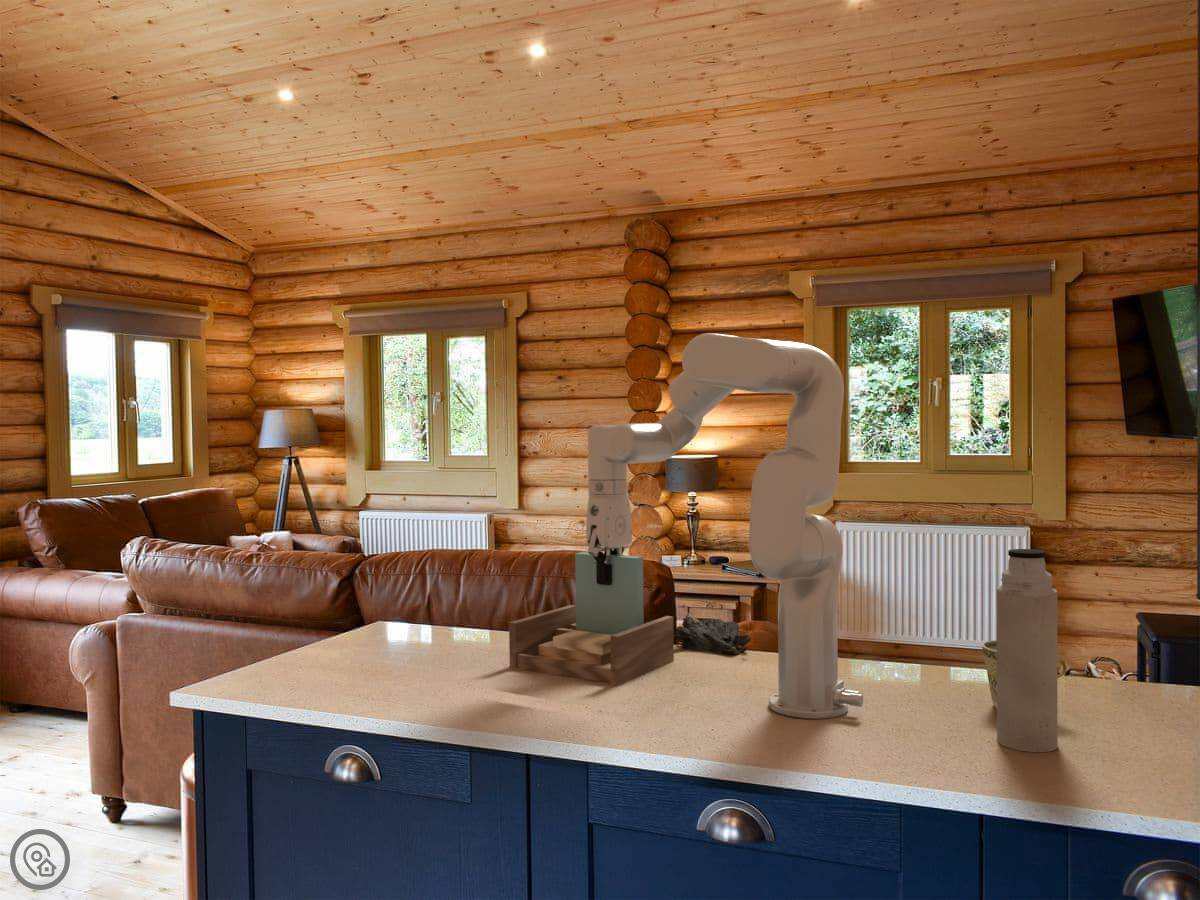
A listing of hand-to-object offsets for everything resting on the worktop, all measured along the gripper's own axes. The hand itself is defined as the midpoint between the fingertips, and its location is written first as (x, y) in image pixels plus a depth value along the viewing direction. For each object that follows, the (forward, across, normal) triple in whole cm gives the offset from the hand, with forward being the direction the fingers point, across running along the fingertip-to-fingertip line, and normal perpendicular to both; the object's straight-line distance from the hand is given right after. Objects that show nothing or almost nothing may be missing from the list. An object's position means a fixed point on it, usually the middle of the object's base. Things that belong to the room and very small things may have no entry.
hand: (608, 582), depth 184 cm
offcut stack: (+15, -9, 0) cm, 17 cm away
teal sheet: (+15, 0, 0) cm, 15 cm away
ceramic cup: (+16, +10, -73) cm, 75 cm away
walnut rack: (+16, -6, 0) cm, 17 cm away
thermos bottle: (+16, -7, -76) cm, 78 cm away
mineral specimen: (+17, +18, -13) cm, 28 cm away
